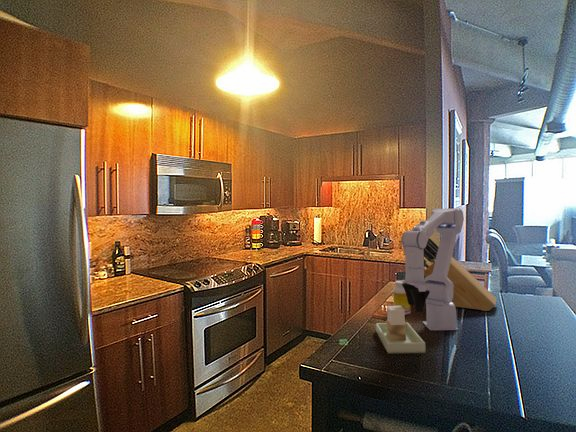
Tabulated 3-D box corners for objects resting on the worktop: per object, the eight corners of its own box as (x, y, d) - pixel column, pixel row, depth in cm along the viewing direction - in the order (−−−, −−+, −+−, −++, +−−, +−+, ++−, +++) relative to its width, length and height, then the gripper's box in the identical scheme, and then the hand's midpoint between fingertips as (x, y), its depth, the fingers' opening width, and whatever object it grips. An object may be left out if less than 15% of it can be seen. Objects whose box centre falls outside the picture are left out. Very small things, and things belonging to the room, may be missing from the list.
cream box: (401, 320, 112) (400, 305, 112) (404, 325, 108) (404, 309, 108) (387, 320, 113) (387, 305, 113) (390, 325, 108) (390, 310, 108)
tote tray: (408, 330, 117) (407, 322, 117) (425, 352, 100) (425, 343, 100) (376, 331, 117) (375, 323, 117) (387, 353, 100) (387, 343, 100)
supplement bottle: (412, 315, 132) (411, 283, 132) (394, 315, 133) (393, 283, 133) (409, 310, 139) (408, 279, 138) (392, 309, 140) (391, 279, 139)
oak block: (401, 334, 113) (401, 319, 113) (406, 340, 108) (405, 325, 108) (386, 334, 113) (386, 320, 113) (390, 340, 108) (389, 325, 108)
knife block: (411, 295, 160) (409, 231, 159) (497, 305, 139) (495, 232, 138) (404, 301, 151) (402, 233, 150) (495, 313, 130) (493, 235, 129)
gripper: (396, 263, 117) (397, 301, 117) (408, 271, 102) (409, 315, 103) (416, 263, 116) (417, 301, 117) (432, 271, 102) (433, 314, 102)
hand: (415, 307), depth 110 cm, fingers open, 7 cm apart
